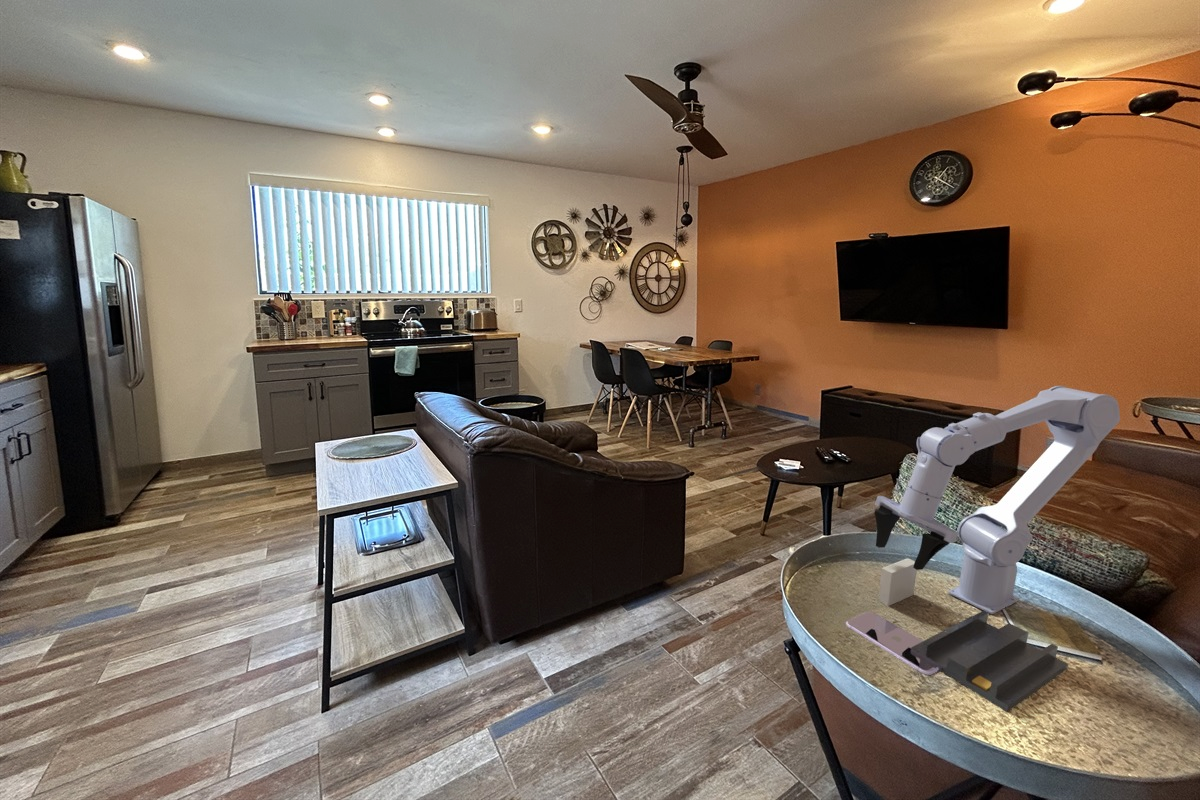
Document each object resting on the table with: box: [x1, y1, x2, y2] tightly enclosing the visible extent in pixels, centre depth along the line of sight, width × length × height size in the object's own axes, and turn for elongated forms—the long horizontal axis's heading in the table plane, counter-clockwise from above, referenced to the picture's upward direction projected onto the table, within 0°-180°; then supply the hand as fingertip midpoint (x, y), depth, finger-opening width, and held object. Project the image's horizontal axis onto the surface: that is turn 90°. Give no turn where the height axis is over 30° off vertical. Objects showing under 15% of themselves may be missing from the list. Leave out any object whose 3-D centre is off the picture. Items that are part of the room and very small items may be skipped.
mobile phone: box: [845, 611, 940, 676], centre depth 89 cm, size 8×1×15 cm
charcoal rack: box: [911, 610, 1069, 713], centre depth 84 cm, size 18×14×3 cm
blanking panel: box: [877, 557, 918, 607], centre depth 101 cm, size 8×2×7 cm, turn 118°
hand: (898, 557), depth 98 cm, fingers open, 7 cm apart
